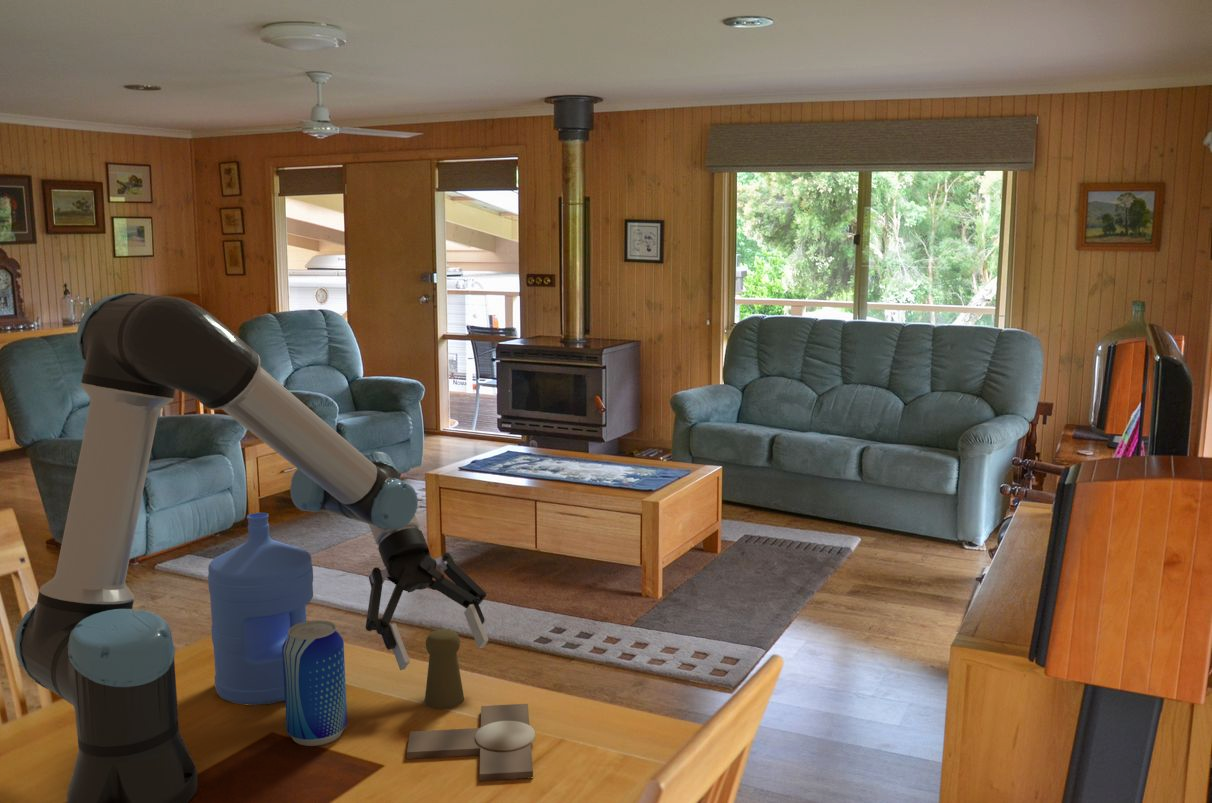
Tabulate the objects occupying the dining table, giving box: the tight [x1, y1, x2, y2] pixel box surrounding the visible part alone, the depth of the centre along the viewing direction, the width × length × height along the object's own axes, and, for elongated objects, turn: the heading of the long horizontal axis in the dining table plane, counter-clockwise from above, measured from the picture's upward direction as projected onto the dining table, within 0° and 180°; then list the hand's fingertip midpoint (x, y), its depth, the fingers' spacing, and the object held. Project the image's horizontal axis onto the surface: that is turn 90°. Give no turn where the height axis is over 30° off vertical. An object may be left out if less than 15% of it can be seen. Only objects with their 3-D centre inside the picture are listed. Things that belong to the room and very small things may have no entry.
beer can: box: [282, 619, 348, 747], centre depth 149 cm, size 8×8×16 cm
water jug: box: [207, 512, 314, 706], centre depth 164 cm, size 16×16×28 cm
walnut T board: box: [406, 703, 536, 782], centre depth 147 cm, size 18×20×1 cm
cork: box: [424, 628, 465, 710], centre depth 160 cm, size 6×6×11 cm
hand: (445, 655), depth 161 cm, fingers open, 13 cm apart
